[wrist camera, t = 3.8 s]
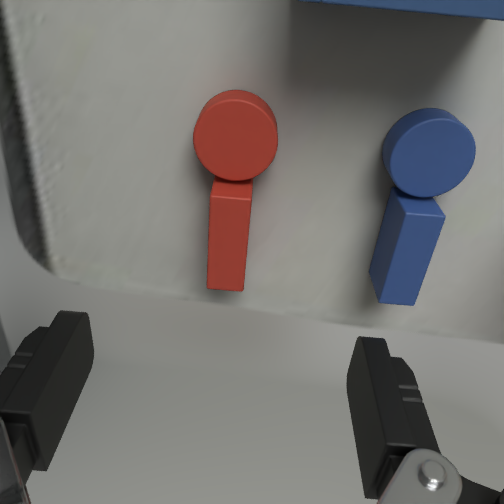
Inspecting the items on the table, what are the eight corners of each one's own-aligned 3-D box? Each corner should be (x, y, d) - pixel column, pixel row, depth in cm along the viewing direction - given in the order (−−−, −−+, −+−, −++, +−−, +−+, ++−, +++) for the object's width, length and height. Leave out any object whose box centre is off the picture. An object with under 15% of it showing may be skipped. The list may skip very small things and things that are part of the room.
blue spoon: (417, 275, 22) (432, 308, 20) (351, 270, 22) (359, 302, 20) (474, 111, 18) (501, 131, 16) (392, 103, 18) (409, 123, 16)
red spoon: (262, 262, 22) (261, 294, 20) (195, 257, 22) (187, 287, 20) (281, 93, 18) (283, 111, 16) (198, 85, 18) (189, 102, 15)
